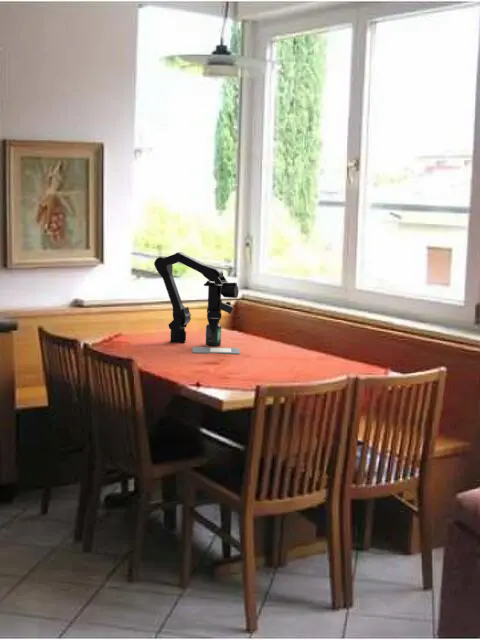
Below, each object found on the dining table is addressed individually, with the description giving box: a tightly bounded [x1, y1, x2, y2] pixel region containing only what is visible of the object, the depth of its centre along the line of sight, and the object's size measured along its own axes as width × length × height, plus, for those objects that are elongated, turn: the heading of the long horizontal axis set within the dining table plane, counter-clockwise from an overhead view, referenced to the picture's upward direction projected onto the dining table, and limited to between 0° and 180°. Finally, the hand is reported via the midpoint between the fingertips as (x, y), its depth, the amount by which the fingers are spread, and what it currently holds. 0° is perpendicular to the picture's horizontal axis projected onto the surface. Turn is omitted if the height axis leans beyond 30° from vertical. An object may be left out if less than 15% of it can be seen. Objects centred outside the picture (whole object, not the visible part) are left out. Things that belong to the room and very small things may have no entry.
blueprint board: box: [192, 346, 241, 355], centre depth 407 cm, size 20×13×1 cm, turn 92°
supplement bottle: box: [205, 320, 222, 347], centre depth 421 cm, size 7×7×12 cm
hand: (213, 331), depth 421 cm, fingers open, 9 cm apart
